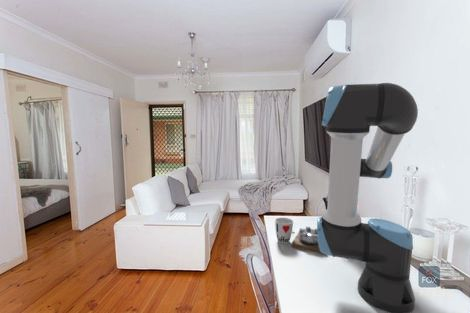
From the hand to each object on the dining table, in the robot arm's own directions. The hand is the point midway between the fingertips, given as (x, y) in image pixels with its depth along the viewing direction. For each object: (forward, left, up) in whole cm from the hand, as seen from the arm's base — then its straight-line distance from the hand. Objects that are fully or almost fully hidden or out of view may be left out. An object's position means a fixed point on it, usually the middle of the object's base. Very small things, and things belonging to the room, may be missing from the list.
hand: (335, 232), depth 115 cm
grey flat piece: (-7, +7, -1) cm, 10 cm away
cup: (-14, +21, -4) cm, 25 cm away
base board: (-11, +9, -4) cm, 14 cm away
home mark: (-1, +21, -4) cm, 21 cm away
